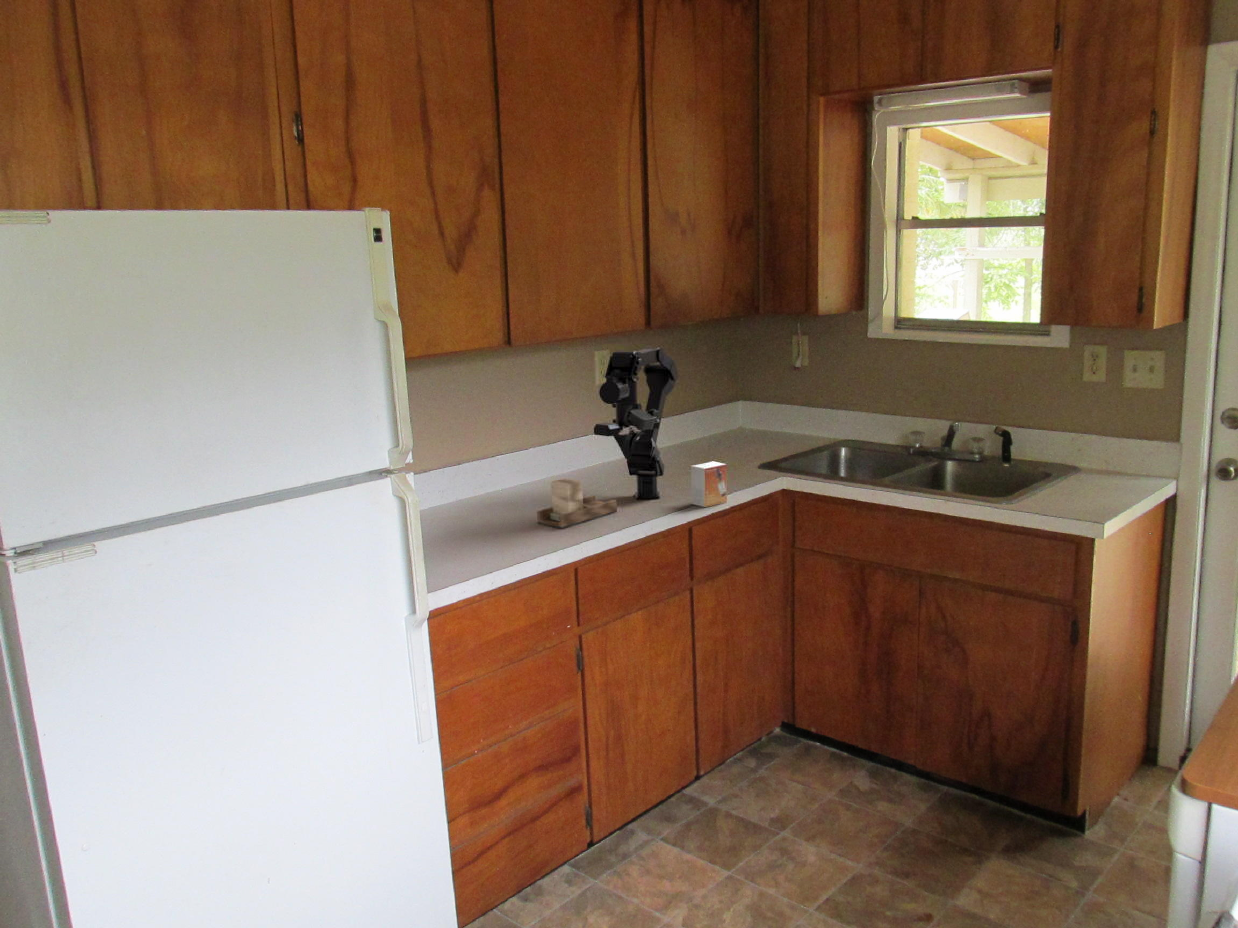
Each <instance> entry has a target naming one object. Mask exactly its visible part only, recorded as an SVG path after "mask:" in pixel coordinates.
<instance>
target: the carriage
mask: <svg viewBox="0 0 1238 928" xmlns="http://www.w3.org/2000/svg"><path fill="white" fill-rule="evenodd" d="M550 483H551V484H550V485H551V488H550V489H551V500H552V507H553V513H557V514H562V515H564V514H567V513H571V512H574V511H577V510H581V509H583V498H584V497H583V494H584V493H583V481H582V480H579V479H578V480H577V479H573V478H572V479H571V478H568V477H565V478H562V479H557V480H554V481H551V482H550Z"/></svg>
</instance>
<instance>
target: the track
mask: <svg viewBox="0 0 1238 928" xmlns="http://www.w3.org/2000/svg"><path fill="white" fill-rule="evenodd" d="M617 505H618V504H617V499H613V500H608V501H600V500H596V495H589V496H585V497H583V509H581V510H577V511H574V512H571V513H567V514H564V515H562V514H557V513H553V506H550V507H546V508H543V509H540V510H537V512H536V515H537V524H539V525H543V526H547V525H548V527H552V528H556V529H560V530H564V529H567V528H571V527H573V526H576V525H580V524H583V523H587V522H590V521H593V520H596V519H599V518H603V517H606V516H609V515H612V514H615V513H617V512H618V509H617V508H618V507H617Z"/></svg>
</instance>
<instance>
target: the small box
mask: <svg viewBox="0 0 1238 928" xmlns="http://www.w3.org/2000/svg"><path fill="white" fill-rule="evenodd" d="M727 468H728V467H727V464H726V463H722V462H717V461H713V460H712V461H709V462H705V463H699V464H695V465H690V482H691V484H690V485H691V489H690V491H691V504H692V505H696V506H699V507H704V508H707V507H711V506H712V507H713V506H715V505H721V504H726V503H727V502H728V489H727V488H728V484H727V483H728V482H727V481H728V480H727V477H728V476H727Z"/></svg>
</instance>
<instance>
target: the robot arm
mask: <svg viewBox="0 0 1238 928" xmlns="http://www.w3.org/2000/svg"><path fill="white" fill-rule="evenodd" d="M642 367H643V368H642ZM641 371H642V372H643V373H644V376H645V382H646V385H647V388H648V389H649V392H648V396H647V401H646V405H645V409H644V410H643V408H642V407H643V406H642V403H641V402H638V381H639V380H640V377H639V373H640V372H641ZM604 379H605V382H604V383H602V385H601V386H600V388H599V392H598V393H599V394H598V395H599V399H601V401H602V402H603V403H604V404H607V405H611V406H612V409H613V408H615V418H613V419H612V422H599V423H596V424H595V425H594V426H593V435H595V436H603V437H613V438H614V440H615V442H616V443H617V445H618V447H619V449H620V451H621V452H622V454H623V456H624V459H625V460H626V465H627V470H628V474H629V476H635V477H636V491H635V494H634V495H635V499H636V500H650V499H653V500H655V499H661V495H660V491H658V488H659V485H658V478H659V477H663V476H664V474H665V464H664V463H663V460H662V458H661V457H660V456H661V453H660V450H659V448H658V447H659V446H658V445H657V444H658V443H657V441H658V438H659V437H658V436H659V431H660V427H661V422H662V418H663V412H664V407H665V403H666V398H667V396H668V395H669V394H670V393H671V392H672V391H673V390H674V389H675V385H676V383H677V382H676V381H677V380H678V379H679V370H678V367H677V366H676V363H675V361H674V360H673V359H672V358H671V357H669V356H668V354H667V355H666V353H665V350H664V349H663V348H661V347H660V346H659V347H650V346H647V347H645V348H642V349H639V350H615V351H613V352H612V355H610V356H609V360H608V364H607V367H606V371H605V374H604Z"/></svg>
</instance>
